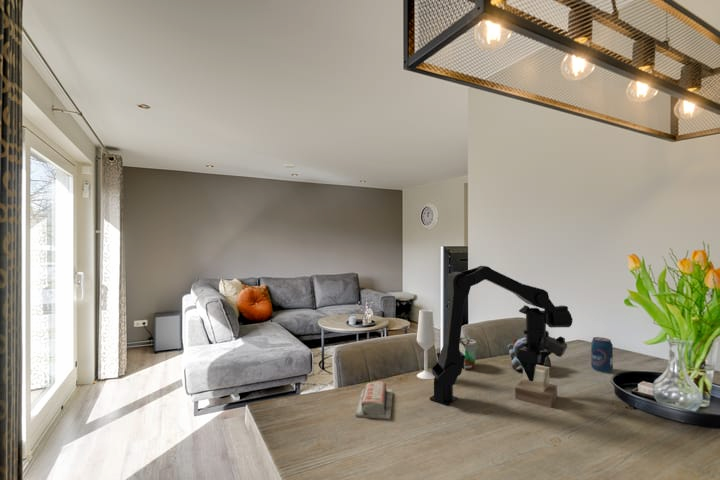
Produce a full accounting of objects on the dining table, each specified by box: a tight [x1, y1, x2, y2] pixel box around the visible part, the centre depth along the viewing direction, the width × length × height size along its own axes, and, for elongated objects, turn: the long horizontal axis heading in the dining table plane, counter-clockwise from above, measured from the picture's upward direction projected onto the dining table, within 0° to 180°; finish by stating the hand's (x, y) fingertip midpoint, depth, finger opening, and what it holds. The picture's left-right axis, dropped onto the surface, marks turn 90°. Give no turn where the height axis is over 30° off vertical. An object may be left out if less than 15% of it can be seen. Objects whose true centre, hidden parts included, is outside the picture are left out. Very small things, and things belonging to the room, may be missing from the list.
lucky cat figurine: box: [507, 337, 552, 372], centre depth 142 cm, size 15×12×14 cm
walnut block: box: [514, 378, 558, 409], centre depth 115 cm, size 10×10×4 cm
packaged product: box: [355, 380, 393, 420], centre depth 110 cm, size 18×5×10 cm
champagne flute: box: [416, 309, 436, 380], centre depth 134 cm, size 7×7×24 cm
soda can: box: [590, 336, 614, 374], centre depth 140 cm, size 7×7×12 cm
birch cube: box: [522, 365, 550, 392], centre depth 114 cm, size 6×6×6 cm
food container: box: [459, 336, 478, 371], centre depth 144 cm, size 12×6×10 cm, turn 179°
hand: (535, 377), depth 115 cm, fingers open, 9 cm apart
